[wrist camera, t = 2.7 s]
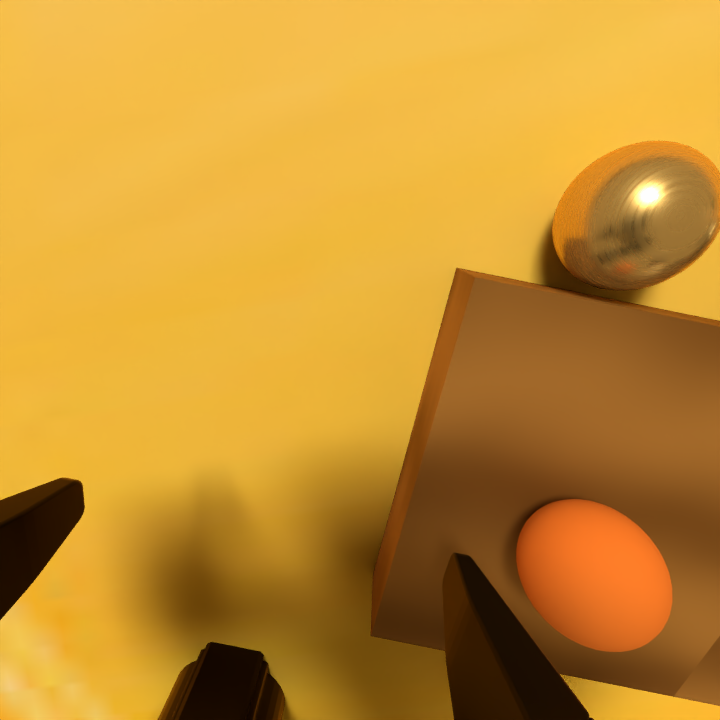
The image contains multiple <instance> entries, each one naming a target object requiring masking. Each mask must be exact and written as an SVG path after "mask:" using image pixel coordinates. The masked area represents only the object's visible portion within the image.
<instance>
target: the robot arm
mask: <svg viewBox="0 0 720 720" xmlns="http://www.w3.org/2000/svg"><path fill="white" fill-rule="evenodd" d="M84 508H85V505H84V494H83V485H82V483H81V481H79V480H75V479H70V478H59V479H56V480H54V481H51V482H48V483H46V484H43V485H40V486H37V487H35V488H32V489H29V490H27V491H24V492H21V493H18V494H16V495H13V496H10V497H8V498H5V499H2V500H0V620H1V619H2V617H3V616H4V615H5V614H6V613H7V612H8V611H9V609H10V608H11V607H12V606H13V605H14V604H15V603H16V601H17V600H18V599H19V598H20V597H21V596H22V595H23V593H24V592H25V591H26V590H27V589H28V588H29V586H30V585H31V584H32V583H33V582H34V580H35V579H36V578H37V576H38V575H39V574H40V573H41V571H42V570H43V569H44V567H45V566H46V565H47V563H48V562H49V561H50V559H51V558H52V557H53V555H54V554H55V552H56V551H57V550H58V548H59V547H60V546H61V544H62V543H63V542H64V540H65V539H66V538H67V536H68V535H69V534H70V532H71V531H72V529H73V528H74V527H75V525H76V524H77V523H78V521H79V520H80V518H81V517H82V515H83V512H84ZM442 593H443V614H444V634H445V653H446V665H447V673H448V680H449V687H450V694H451V701H452V707H453V714H454V720H594V719H593V718H589V713H588V712H587V710H586V709H585V708H584V706H583V705H582V704H581V702H580V701H579V700H578V698H577V697H576V696H575V694H574V693H573V692H572V690H571V689H570V688H569V686H568V685H567V684H566V682H565V681H564V680H563V678H562V677H561V676H560V674H559V673H558V672H557V670H556V669H555V668H554V666H553V665H552V664H551V662H550V661H549V660H548V658H547V657H546V656H545V654H544V653H543V652H542V650H541V649H540V648H539V646H538V645H537V644H536V642H535V641H534V640H533V639H532V637H531V636H530V635H529V633H528V632H527V631H526V629H525V628H524V627H523V625H522V624H521V623H520V621H519V620H518V619H517V617H516V616H515V615H514V613H513V612H512V611H511V609H510V608H509V607H508V605H507V604H506V603H505V601H504V600H503V599H502V597H501V596H500V595H499V593H498V592H497V591H496V589H495V588H494V587H493V585H492V584H491V583H490V581H489V580H488V579H487V577H486V576H485V575H484V573H483V572H482V571H481V569H480V568H479V567H478V565H477V564H476V563H475V561H474V560H473V559H472V558H471V557H470V556H469V555H465V554H460V553H452V555H451V557H450V559H449V562H448V565H447V568H446V571H445V574H444V577H443V583H442ZM263 657H264V655H263V654H262V653H261V652H260V651H255V650H250V649H245V648H240V647H235V646H230V645H225V644H220V643H215V642H210V643H208V644H207V645H206V648H205V649H203V650H201V652H200V654H199V657H198V659H197V660H196V661H194V662H192V663H190V664H188V665H187V666H186V667H184V668H183V670H182V671H181V672H180V674H179V676H178V678H177V680H176V682H175V684H174V686H173V688H172V691H171V693H170V695H169V697H168V699H167V701H166V703H165V706H164V708H163V710H162V712H161V714H160V716H159V718H158V720H281V719H282V715H283V710H284V704H285V698H284V693H283V691H282V689H281V687H280V685H279V684H278V683H277V681H276V680H275V679H274V678H273V677H272V676H271V675H270V674H269V673H268V663H267V662H266V661H263Z"/></svg>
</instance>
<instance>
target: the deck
mask: <svg viewBox="0 0 720 720" xmlns="http://www.w3.org/2000/svg"><path fill="white" fill-rule="evenodd" d="M566 499H583V500H589V501H593V502H597V503H600V504H603V505H606V506H608V507H611V508H613V509H615V510H616V511H618V512H620V513H622V514H623V515H625V516H626V517H628V518H629V519H630V520H632V521H633V522H634V523H636V524H637V525H638V526H639V527H640V528H641V529H642V530H643V531H644V532H645V533H646V534H647V535H648V536H649V537H650V539H651V540H652V541H653V543H654V544H655V545H656V547H657V548H658V550H659V551H660V553H661V555H662V557H663V559H664V561H665V563H666V566H667V568H668V571H669V574H670V579H671V584H672V607H671V612H670V616H669V618H668V621H667V623H666V624H665V626H664V628H663V630H662V631H661V632H660V633H659V634H658V635H657V636H656V637H655V638H654V639H653V640H652V641H650V642H649V643H647V644H646V645H644V646H642V647H640V648H637V649H634V650H630V651H624V652H606V651H599V650H595V649H592V648H588V647H585V646H583V645H580V644H578V643H576V642H574V641H572V640H570V639H568V638H567V637H565V636H564V635H562V634H561V633H560V632H558V631H557V630H555V629H554V628H553V627H552V626H551V625H550V624H549V623H548V622H547V621H545V620H544V618H543V617H542V616H541V615H540V614H539V612H538V611H537V610H536V609H535V608H534V606H533V605H532V603H531V601H530V600H529V598H528V596H527V595H526V593H525V591H524V588H523V586H522V583H521V581H520V577H519V574H518V569H517V562H516V548H517V542H518V538H519V535H520V532H521V530H522V528H523V526H524V524H525V523H526V521H527V520H528V519H529V518H530V517H531V515H532V514H533V513H535V512H536V511H537V510H538V509H540V508H541V507H543V506H545V505H547V504H549V503H552V502H555V501H559V500H566ZM452 553H460V554H465V555H469V556H470V557H471V558H472V559H473V560H474V561H475V563H476V564H477V565H478V567H479V568H480V569H481V571H482V572H483V573H484V575H485V576H486V577H487V579H488V580H489V581H490V583H491V584H492V585H493V587H494V588H495V589H496V591H497V592H498V593H499V595H500V596H501V597H502V599H503V600H504V601H505V603H506V604H507V605H508V607H509V608H510V609H511V611H512V612H513V613H514V615H515V616H516V617H517V619H518V620H519V621H520V623H521V624H522V625H523V627H524V628H525V629H526V631H527V632H528V633H529V635H530V636H531V637H532V639H533V640H534V641H535V642H536V644H537V645H538V646H539V648H540V649H541V650H542V652H543V653H544V654H545V656H546V657H547V658H548V660H549V661H550V662H551V664H552V665H553V666H554V668H555V669H556V670H557V672H558V673H559V674H563V675H568V676H573V677H578V678H583V679H588V680H593V681H598V682H603V683H608V684H613V685H618V686H623V687H628V688H633V689H638V690H643V691H648V692H653V693H658V694H663V695H668V696H673V697H678V698H683V699H688V700H693V701H698V702H703V703H708V704H713V705H718V706H720V321H717V320H712V319H707V318H702V317H697V316H692V315H688V314H683V313H678V312H673V311H668V310H663V309H658V308H653V307H648V306H643V305H638V304H633V303H628V302H623V301H618V300H613V299H608V298H603V297H598V296H593V295H588V294H583V293H579V292H574V291H569V290H564V289H559V288H554V287H549V286H544V285H539V284H534V283H529V282H524V281H519V280H514V279H509V278H504V277H499V276H494V275H489V274H484V273H479V272H474V271H470V270H465V269H460V268H456V272H455V275H454V279H453V283H452V286H451V290H450V294H449V297H448V301H447V305H446V308H445V312H444V316H443V319H442V323H441V327H440V330H439V334H438V338H437V341H436V345H435V349H434V352H433V356H432V360H431V364H430V367H429V371H428V375H427V378H426V382H425V386H424V389H423V393H422V397H421V400H420V404H419V408H418V411H417V415H416V419H415V422H414V426H413V430H412V433H411V437H410V441H409V444H408V448H407V452H406V455H405V459H404V463H403V467H402V470H401V474H400V478H399V481H398V485H397V489H396V492H395V496H394V500H393V503H392V507H391V511H390V514H389V518H388V522H387V525H386V529H385V533H384V536H383V540H382V544H381V547H380V551H379V555H378V558H377V562H376V566H375V570H374V573H373V587H372V615H371V636H374V637H379V638H384V639H389V640H394V641H399V642H404V643H409V644H414V645H419V646H424V647H429V648H434V649H439V650H444V651H445V634H444V614H443V593H442V583H443V577H444V574H445V571H446V568H447V565H448V562H449V559H450V557H451V555H452Z"/></svg>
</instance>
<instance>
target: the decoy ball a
mask: <svg viewBox="0 0 720 720" xmlns="http://www.w3.org/2000/svg"><path fill="white" fill-rule="evenodd" d="M719 230H720V172H719V170H718V169H717V167H716V166H715V165H714V163H713V162H712V161H711V160H710V159H709V158H708V157H706V156H705V155H703V154H702V153H701V152H699V151H698V150H696V149H694V148H692V147H690V146H687V145H683V144H680V143H676V142H669V141H646V142H640V143H635V144H631V145H628V146H624V147H621V148H619V149H616V150H614V151H612V152H610V153H608V154H606V155H604V156H602V157H601V158H599V159H597V160H596V161H594V162H593V163H592V164H590V165H589V166H588V167H586V168H585V169H584V170H583V171H582V172H581V173H580V174H579V175H578V176H577V177H576V178H575V179H574V180H573V181H572V182H571V184H570V185H569V187H568V188H567V189H566V191H565V192H564V194H563V196H562V198H561V199H560V201H559V204H558V206H557V209H556V212H555V215H554V220H553V227H552V236H553V243H554V247H555V250H556V253H557V255H558V257H559V259H560V261H561V263H562V264H563V265H564V267H565V268H566V269H567V270H568V271H569V272H570V273H571V274H572V275H574V276H575V277H576V278H578V279H579V280H581V281H582V282H585V283H587V284H589V285H592V286H594V287H598V288H601V289H608V290H635V289H641V288H645V287H649V286H653V285H656V284H658V283H661V282H664V281H666V280H668V279H670V278H672V277H674V276H676V275H677V274H679V273H681V272H682V271H684V270H685V269H687V268H688V267H689V266H691V265H692V264H693V263H694V262H695V261H696V260H697V259H698V258H699V257H700V256H702V255H703V253H704V252H705V251H706V250H707V249H708V248H709V246H710V245H711V244H712V242H713V241H714V239H715V237H716V236H717V234H718V232H719Z"/></svg>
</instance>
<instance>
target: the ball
mask: <svg viewBox="0 0 720 720" xmlns="http://www.w3.org/2000/svg"><path fill="white" fill-rule="evenodd" d="M516 562H517V569H518V574H519V577H520V581H521V583H522V586H523V588H524V591H525V593H526V595H527V596H528V598H529V600H530V601H531V603H532V605H533V606H534V608H535V609H536V610H537V611H538V612H539V614H540V615H541V616H542V617H543V618H544V620H545V621H547V622H548V623H549V624H550V625H551V626H552V627H553V628H554V629H555V630H557V631H558V632H560V633H561V634H562V635H564V636H565V637H567V638H568V639H570V640H572V641H574V642H576V643H578V644H580V645H583V646H585V647H588V648H592V649H595V650H599V651H606V652H624V651H630V650H634V649H637V648H640V647H642V646H644V645H646V644H647V643H649V642H650V641H652V640H653V639H654V638H655V637H656V636H657V635H658V634H659V633H660V632H661V631H662V630H663V628H664V626H665V624H666V623H667V621H668V618H669V616H670V612H671V607H672V584H671V579H670V574H669V571H668V568H667V566H666V563H665V561H664V559H663V557H662V555H661V553H660V551H659V550H658V548H657V547H656V545H655V544H654V543H653V541H652V540H651V539H650V537H649V536H648V535H647V534H646V533H645V532H644V531H643V530H642V529H641V528H640V527H639V526H638V525H637V524H636V523H634V522H633V521H632V520H630V519H629V518H628V517H626V516H625V515H623V514H622V513H620V512H618V511H616V510H615V509H613V508H611V507H608V506H606V505H603V504H600V503H597V502H593V501H589V500H583V499H566V500H559V501H555V502H552V503H549V504H547V505H545V506H543V507H541V508H540V509H538V510H537V511H536V512H535V513H533V514H532V515H531V517H530V518H529V519H528V520H527V521H526V523H525V524H524V526H523V528H522V530H521V532H520V535H519V538H518V542H517V548H516Z"/></svg>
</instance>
